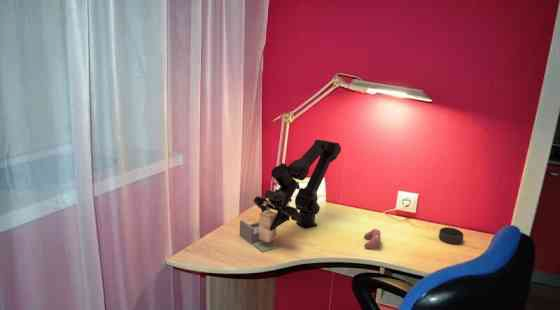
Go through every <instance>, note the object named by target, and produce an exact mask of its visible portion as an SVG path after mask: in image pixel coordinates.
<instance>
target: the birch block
mask: <svg viewBox="0 0 560 310" xmlns="http://www.w3.org/2000/svg"><path fill="white" fill-rule="evenodd" d="M276 216H277V212H275V211H272V210H270V211H269V210H266V211H264V212H262V211H261V212H260V213H259V221H258V222H259V239H261V240H263V241H266V242H270V241H271V242H272V241H273V240H276V237H277V227H276V228H275V229H274V230H272V231H271V230H270V228H271V225H272V223H273V222H274V220H275V218H276Z"/></svg>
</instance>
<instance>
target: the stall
mask: <svg viewBox="0 0 560 310" xmlns="http://www.w3.org/2000/svg"><path fill="white" fill-rule="evenodd" d="M239 235H240V236H241V237H242V238H243V239H244V240H246V241H247V242H248V243H250V244H251V245H252V243H256V242H260V241H263V240H261V239H259V221H258V222H253V223H248V222H246V221H244V219H243V220H242V219H240V220H239Z"/></svg>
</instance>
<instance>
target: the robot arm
mask: <svg viewBox="0 0 560 310" xmlns="http://www.w3.org/2000/svg"><path fill="white" fill-rule="evenodd" d="M341 152H342V147H341V145H340V143H339V142H335V141H330V140H325V139H324V140H323V139H316V140H315V141H314V142H313V144H312V146H311V147H309V148H308V150H307V151H306V152H305V153H304V154H303V155H302V156H301V157H300V158H299V159H295V160H293V161H292V162H291V163H289V164H288V165H287V163H283V162H281V163H280V165H277V166H275V167H274V168H272V170H271V172H270V173H271V175H270V176H272V178H273V180H274V181H275V182H276V184H277V185H278V186H279V188H278V189H275V190H274V191H273V190H270V189H266V190H265V192H264V195H263V197H262V196H260V195H258V196H256V197H254V199H253V203H254V204H255V205H256V206H257V208H259V209H260V210H261V212H264V211H266V210H269V211H271V210H274V211H276V213H277V216H276V218H275V220H274V222H273V223H272V225H271V228H270V230H271V231H272V230H274V229H275V228H276V229H277V228H278V227H280V225H282V224H284V223H285V222H289V221H290V220H292V221H295V222H296V224H297V225H299V227H302V228H304V229H309V228H314V227H317V226H318V224H317V223H316V222H315V221H316V215H318V214H319V211H320V210H321V209H320V208H321V206H320V205H319V204H318V198H319V197H318V190H319V188H320V186H321V184H322V182H323V179H324V177H325V175H326V172H327V171H328V168H329V167H330V164H331V163H332V162H334V161H335V160H337V158H338V156H339V154H341ZM317 159H318V160H317ZM316 161H317V163H316V165H315V167H314V169H313V171H312V173H311V175H310V178H309V180H308V182H307V184H306V186H305V187H304V188H303V187H300V182H299V181H304V180H305V179H306V178H307V176H308V175H309V173H310V168H311V166H312V165H313V164H314V163H315V162H316ZM297 180H299V181H297ZM296 190H298V192H297V194H296V195H295V198H294V205H295V207H294V206H290V205H289V203H292V201H293V199H292V197H293V195H294V193H295V191H296Z"/></svg>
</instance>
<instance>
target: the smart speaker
mask: <svg viewBox="0 0 560 310" xmlns="http://www.w3.org/2000/svg"><path fill="white" fill-rule="evenodd" d="M438 233H439V234H438V238H439V239H440V240H441V242H444V243H447V244H450V245H460V244H462V243H463V241H464V232H462V231H461V230H460V229H457V228H454V227H449V226H448V227H447V226H445V227H441V228H440V229H439V232H438Z"/></svg>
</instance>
